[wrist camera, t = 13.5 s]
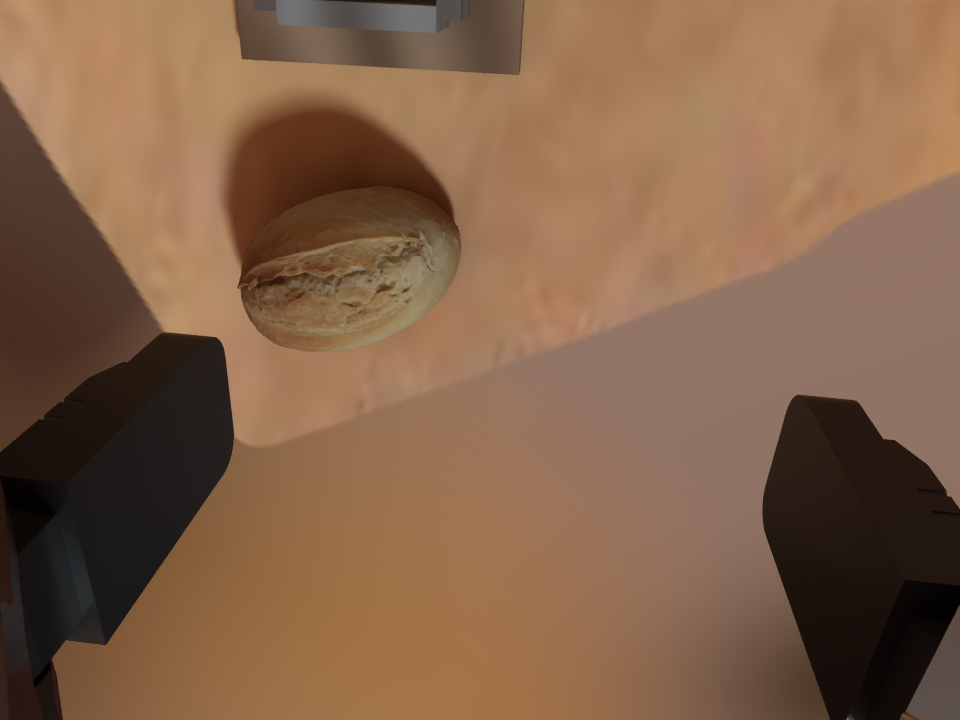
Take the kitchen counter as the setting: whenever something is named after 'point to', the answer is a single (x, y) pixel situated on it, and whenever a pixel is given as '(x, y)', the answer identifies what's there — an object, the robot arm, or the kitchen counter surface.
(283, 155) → the kitchen counter surface
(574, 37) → the kitchen counter surface
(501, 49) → the grey open box
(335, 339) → the bread roll
